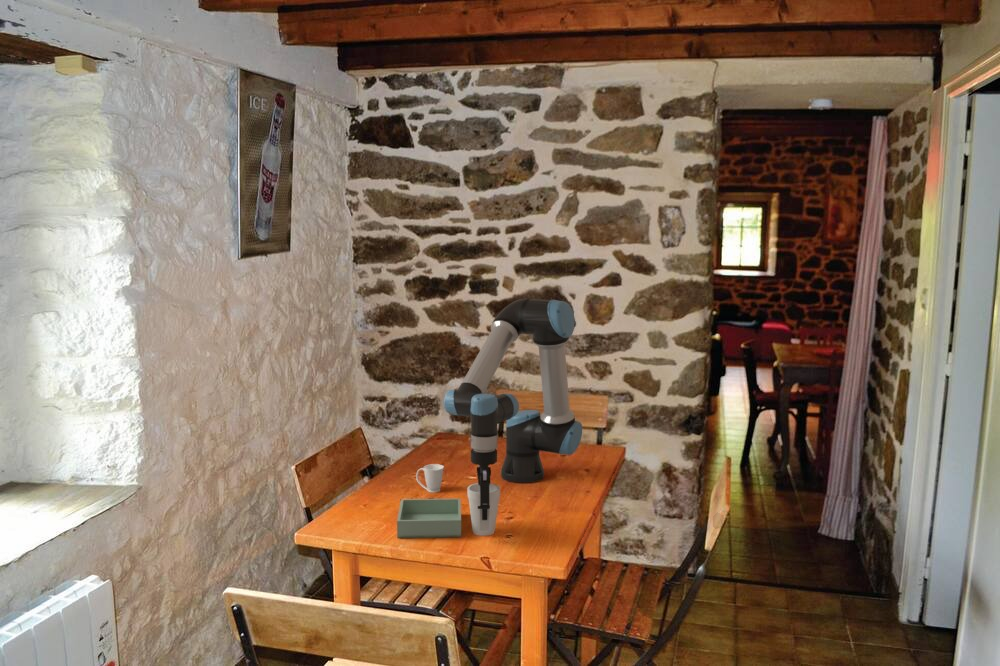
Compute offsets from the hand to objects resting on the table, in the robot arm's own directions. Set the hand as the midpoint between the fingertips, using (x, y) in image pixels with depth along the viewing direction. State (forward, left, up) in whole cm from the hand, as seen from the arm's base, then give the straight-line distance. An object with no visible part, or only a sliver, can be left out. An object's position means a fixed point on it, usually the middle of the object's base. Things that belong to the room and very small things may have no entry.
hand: (483, 522), depth 232 cm
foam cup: (0, 0, -3) cm, 3 cm away
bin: (+15, -5, -3) cm, 17 cm away
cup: (+16, -37, -3) cm, 41 cm away
